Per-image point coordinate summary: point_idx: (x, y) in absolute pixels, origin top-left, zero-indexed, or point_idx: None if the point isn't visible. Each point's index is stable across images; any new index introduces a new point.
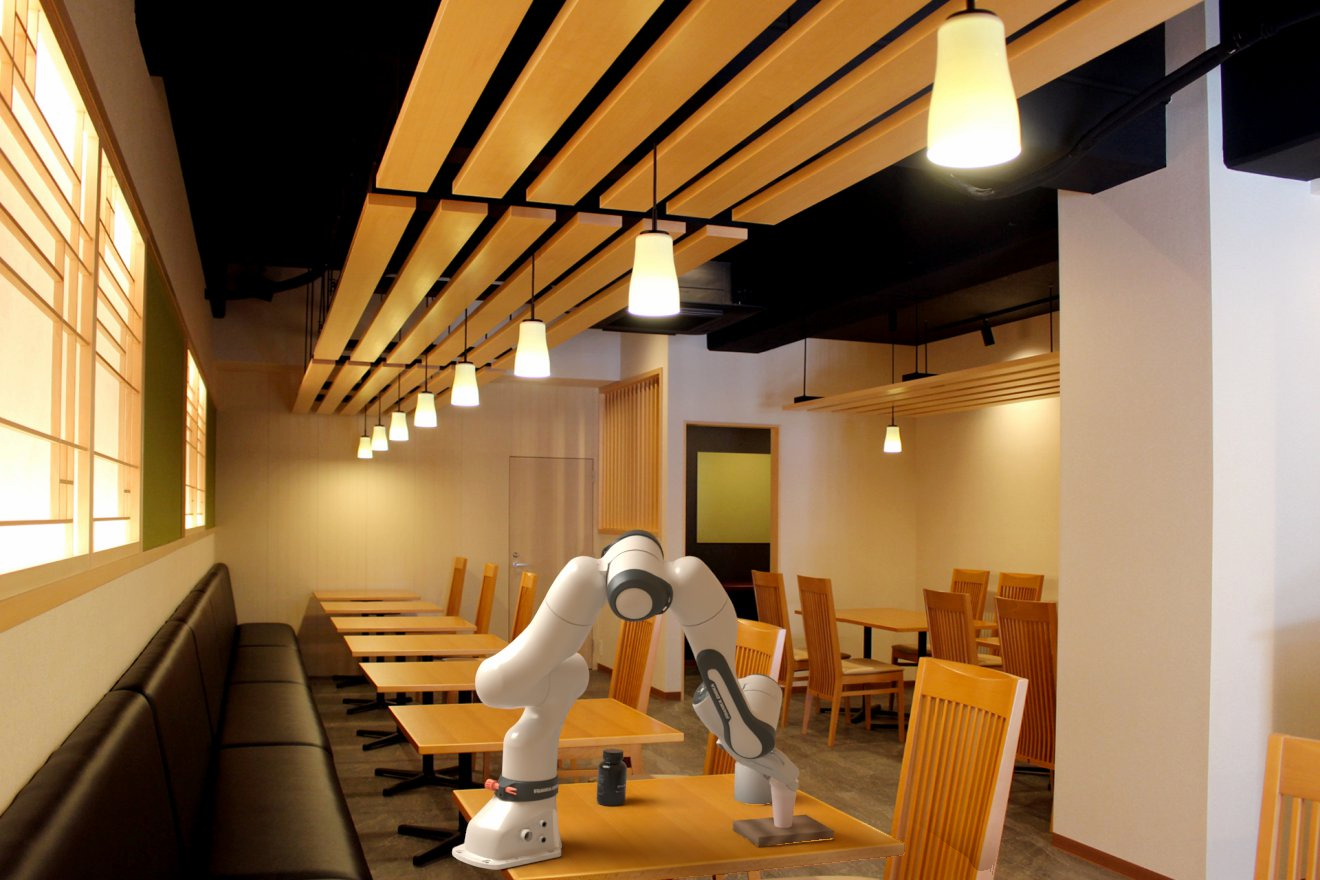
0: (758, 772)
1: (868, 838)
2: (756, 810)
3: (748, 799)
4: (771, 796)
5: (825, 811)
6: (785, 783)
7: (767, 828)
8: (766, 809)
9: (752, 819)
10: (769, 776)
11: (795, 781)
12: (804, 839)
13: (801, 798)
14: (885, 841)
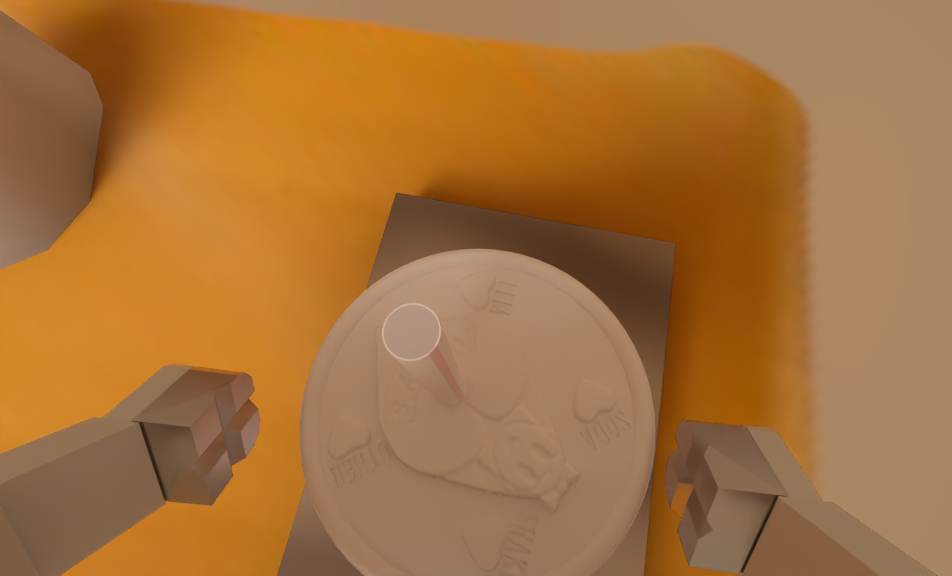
0: (86, 546)
1: (695, 120)
2: (116, 279)
3: (5, 245)
4: (69, 134)
5: (321, 40)
6: (630, 526)
7: None
8: (139, 228)
9: (301, 528)
10: (230, 430)
11: (818, 494)
12: None
13: (138, 12)
14: (754, 90)
